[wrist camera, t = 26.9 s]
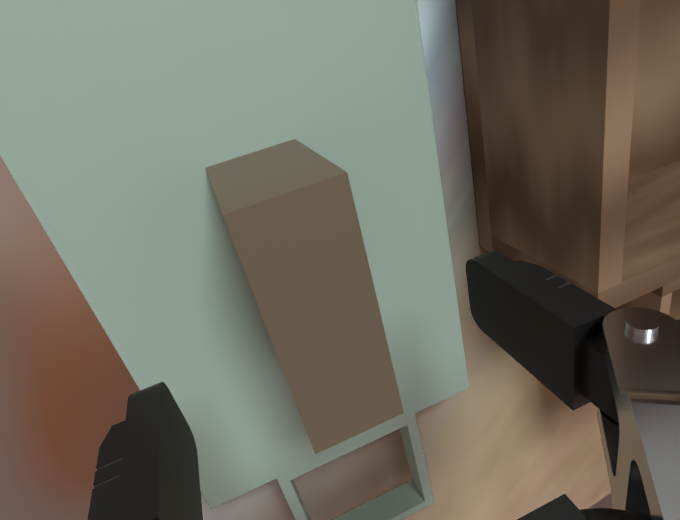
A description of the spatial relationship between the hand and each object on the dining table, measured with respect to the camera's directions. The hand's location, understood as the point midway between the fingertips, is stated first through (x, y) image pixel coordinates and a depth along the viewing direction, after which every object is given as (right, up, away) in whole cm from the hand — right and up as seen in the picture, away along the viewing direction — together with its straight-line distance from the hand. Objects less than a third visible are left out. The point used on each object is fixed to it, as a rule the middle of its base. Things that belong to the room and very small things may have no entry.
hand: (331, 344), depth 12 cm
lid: (-2, 0, +9) cm, 9 cm away
